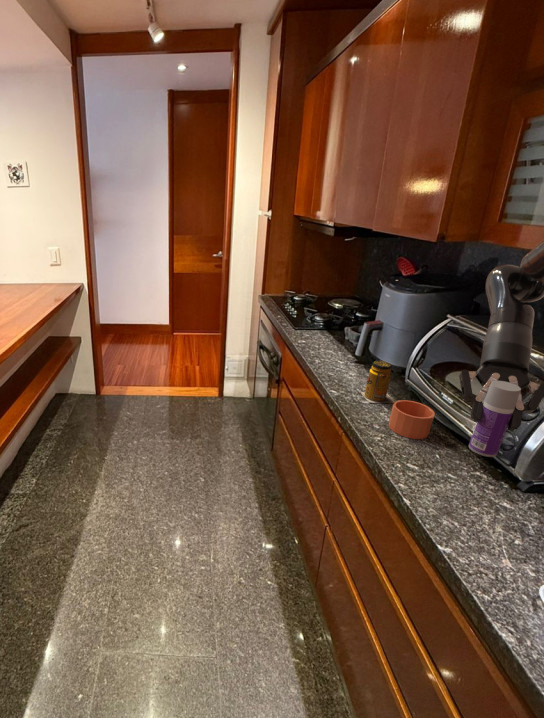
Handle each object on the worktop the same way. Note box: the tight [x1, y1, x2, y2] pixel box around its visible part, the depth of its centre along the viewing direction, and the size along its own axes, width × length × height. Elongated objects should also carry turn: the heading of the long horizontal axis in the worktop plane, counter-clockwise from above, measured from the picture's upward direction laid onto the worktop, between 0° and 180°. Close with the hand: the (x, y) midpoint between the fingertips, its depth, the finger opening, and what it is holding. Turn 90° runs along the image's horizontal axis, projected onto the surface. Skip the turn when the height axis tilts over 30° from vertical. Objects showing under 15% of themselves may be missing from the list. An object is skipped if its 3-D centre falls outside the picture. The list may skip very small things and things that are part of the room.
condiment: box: [360, 360, 396, 404], centre depth 122 cm, size 7×8×12 cm
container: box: [468, 381, 522, 458], centre depth 77 cm, size 5×5×15 cm
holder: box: [388, 399, 436, 440], centre depth 106 cm, size 10×10×6 cm
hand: (494, 425), depth 76 cm, fingers closed on container, 4 cm apart
